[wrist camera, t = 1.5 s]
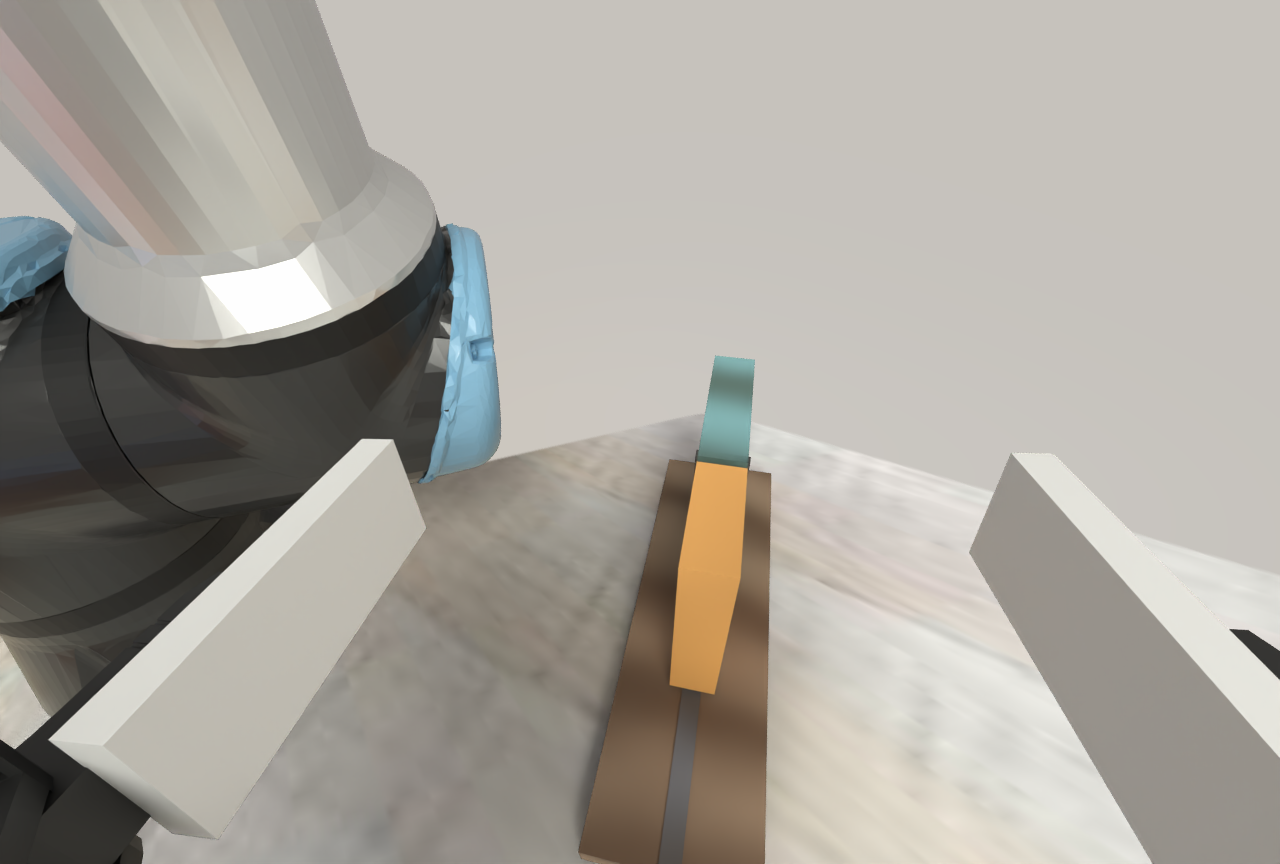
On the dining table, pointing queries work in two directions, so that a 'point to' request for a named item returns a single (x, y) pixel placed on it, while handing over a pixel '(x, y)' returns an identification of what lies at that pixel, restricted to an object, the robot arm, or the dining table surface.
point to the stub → (708, 575)
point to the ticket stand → (682, 718)
